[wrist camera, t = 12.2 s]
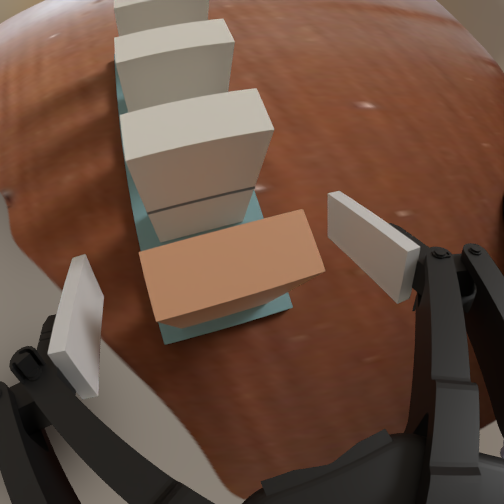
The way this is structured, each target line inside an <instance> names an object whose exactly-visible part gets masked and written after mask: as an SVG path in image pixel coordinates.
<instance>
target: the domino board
mask: <svg viewBox="0 0 504 504" xmlns="http://www.w3.org/2000/svg"><path fill="white" fill-rule="evenodd" d="M114 58H115V54H114ZM115 75H116V89H117V101H118V111H119V121H120V115H122V114H125V113H128V109H127V106H126V102H125V98H124V95H123V91H122V87H121V83H120V79H119V75H118V71H117V67H116V62H115ZM120 130H121V122H120ZM121 138H122V131H121ZM122 146H123V139H122ZM123 154H124V147H123ZM124 161H125V154H124ZM125 168H126V174H127V181H128V187H129V193H130V199H131V204H132V210H133V215H134V221H135V226H136V231H137V236H138V241H139V245H140V250H141V251H144V250H148V249H152V248H155V247H159V246H162V245H166V244H170V243H173V242H177V241H181V240H184V239H188V238H192V237H195V236H199V235H203V234H207V233H210V232H214V231H218V230H222V229H226V228H229V227H233V226H237V225H241V224H245V223H249V222H253V221H257V220H261V219H264V218H263V215H262V212H261V209H260V206H259V203H258V200H257V197H256V194H255V191H254V190H253V193H252V196H251V199H250V202H249V205H248V208H247V211H246V214H245V217H244V220H243V222H238V223H234V224H230V225H226V226H222V227H218V228H215V229H211V230H207V231H203V232H199V233H195V234H191V235H187V236H184V237H180V238H176V239H172V240H168V241H165V242H161V243H160V240H159V238H158V236H157V234H156V232H155V229H154V227H153V225H152V223H151V220H150V218H149V216H148V215H147V212H146V209H145V207H144V204H143V202H142V200H141V197H140V195H139V193H138V190H137V188H136V186H135V183H134V181H133V178H132V176H131V173H130V171H129V169H128V166H127V164H126V161H125ZM290 308H293V306H292V303H291V300H290V297H289V294H288V292H287V293H285V294H284V295H282V296H280V297H278V298H276V299H274V300H273V301H271V302H269V303H267V304H263V305H260V306H257V307H254V308H251V309H247V310H244V311H241V312H237V313H234V314H231V315H227V316H224V317H221V318H217V319H214V320H210V321H207V322H204V323H200V324H197V325H193V326H190V327H186V328H182V329H181V328H177V327H173V326H170V325H166V324H162V323H159V322H158V323H159V327H160V331H161V334H162V338H163V341H164V344H165V345H166V344H170V343H174V342H178V341H181V340H185V339H189V338H193V337H196V336H200V335H203V334H207V333H211V332H214V331H218V330H221V329H225V328H228V327H231V326H235V325H238V324H242V323H245V322H248V321H251V320H255V319H258V318H261V317H264V316H268V315H271V314H274V313H277V312H280V311H283V310H287V309H290Z"/></svg>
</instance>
